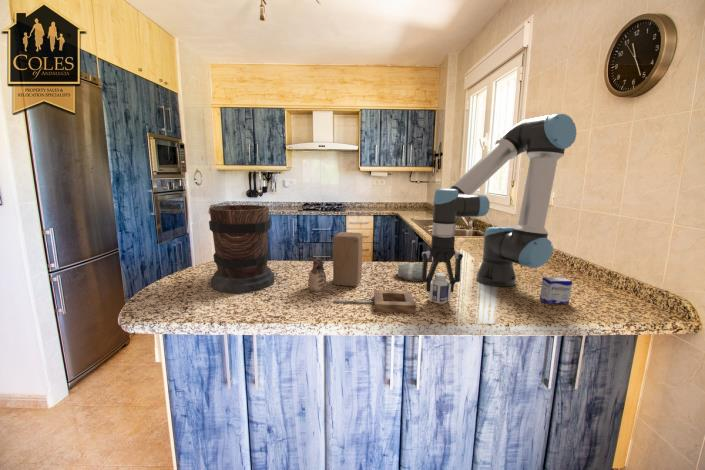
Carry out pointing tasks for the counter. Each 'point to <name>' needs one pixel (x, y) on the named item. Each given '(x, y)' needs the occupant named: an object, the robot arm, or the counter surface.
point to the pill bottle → (440, 288)
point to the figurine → (317, 277)
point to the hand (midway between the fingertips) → (439, 300)
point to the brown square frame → (389, 306)
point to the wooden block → (347, 259)
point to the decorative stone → (410, 271)
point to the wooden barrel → (241, 248)
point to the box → (555, 290)
